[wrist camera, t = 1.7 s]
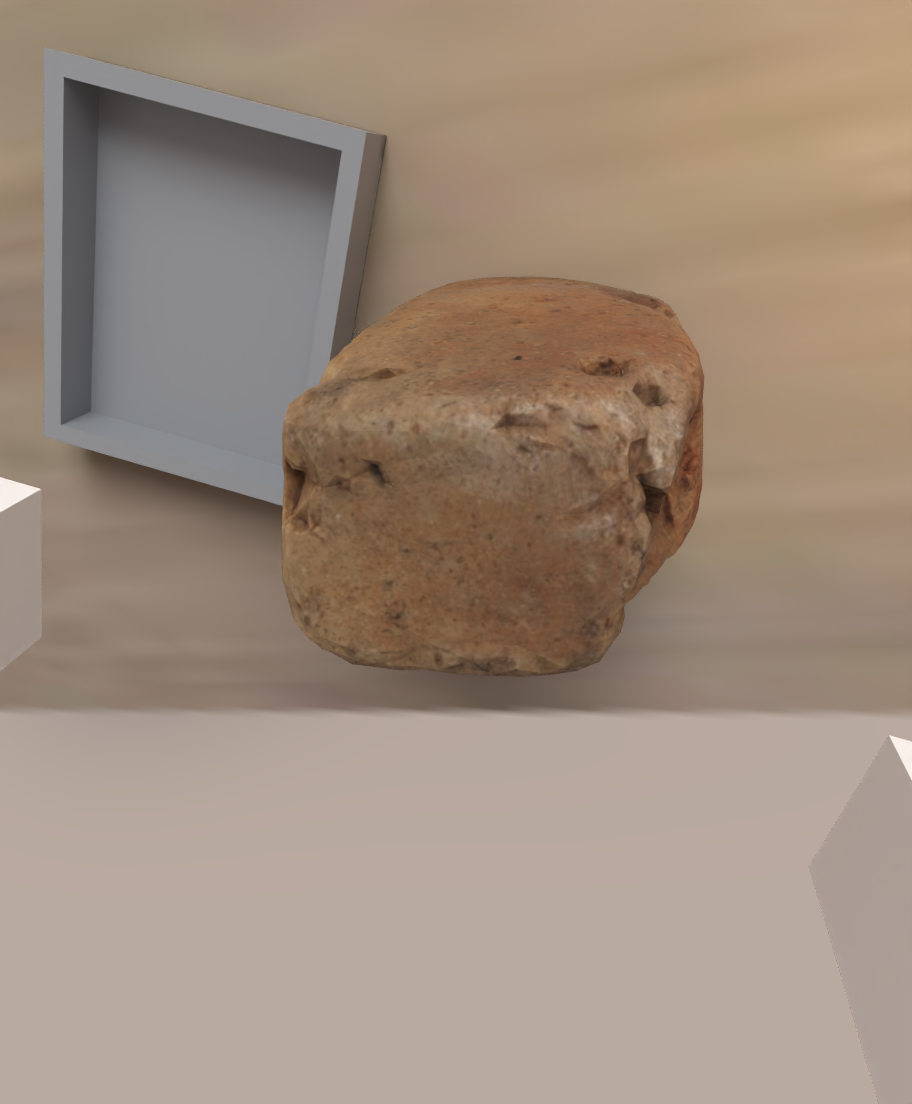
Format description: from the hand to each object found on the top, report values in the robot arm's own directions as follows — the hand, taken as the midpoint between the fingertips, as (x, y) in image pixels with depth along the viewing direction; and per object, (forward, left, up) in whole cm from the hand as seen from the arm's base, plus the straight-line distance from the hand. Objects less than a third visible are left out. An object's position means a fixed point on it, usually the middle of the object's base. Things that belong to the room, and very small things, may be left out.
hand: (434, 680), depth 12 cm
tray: (+15, +1, -25) cm, 29 cm away
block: (0, 0, -25) cm, 25 cm away
